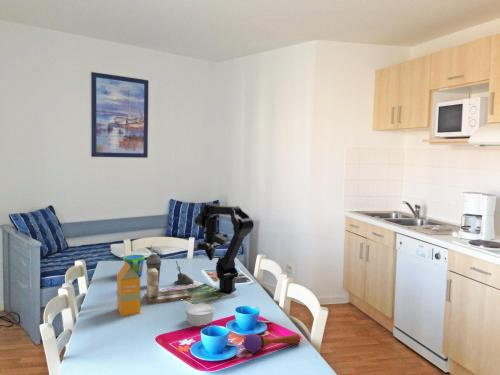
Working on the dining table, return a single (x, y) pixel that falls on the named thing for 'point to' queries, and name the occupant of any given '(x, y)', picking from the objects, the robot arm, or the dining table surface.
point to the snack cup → (135, 263)
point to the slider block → (152, 282)
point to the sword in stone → (183, 279)
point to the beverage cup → (154, 263)
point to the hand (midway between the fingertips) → (210, 260)
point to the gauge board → (168, 296)
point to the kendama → (267, 341)
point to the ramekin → (199, 314)
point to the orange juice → (128, 291)
